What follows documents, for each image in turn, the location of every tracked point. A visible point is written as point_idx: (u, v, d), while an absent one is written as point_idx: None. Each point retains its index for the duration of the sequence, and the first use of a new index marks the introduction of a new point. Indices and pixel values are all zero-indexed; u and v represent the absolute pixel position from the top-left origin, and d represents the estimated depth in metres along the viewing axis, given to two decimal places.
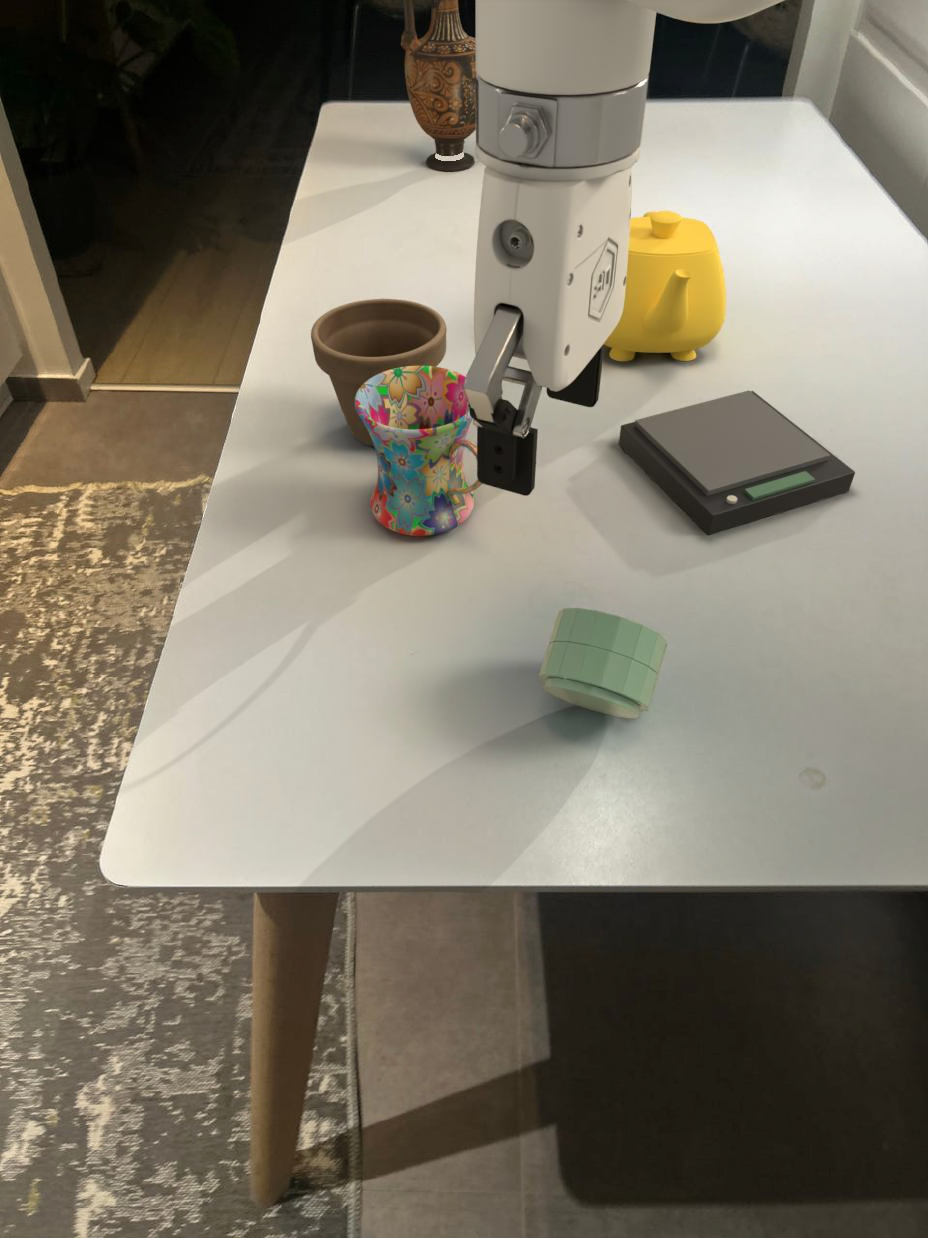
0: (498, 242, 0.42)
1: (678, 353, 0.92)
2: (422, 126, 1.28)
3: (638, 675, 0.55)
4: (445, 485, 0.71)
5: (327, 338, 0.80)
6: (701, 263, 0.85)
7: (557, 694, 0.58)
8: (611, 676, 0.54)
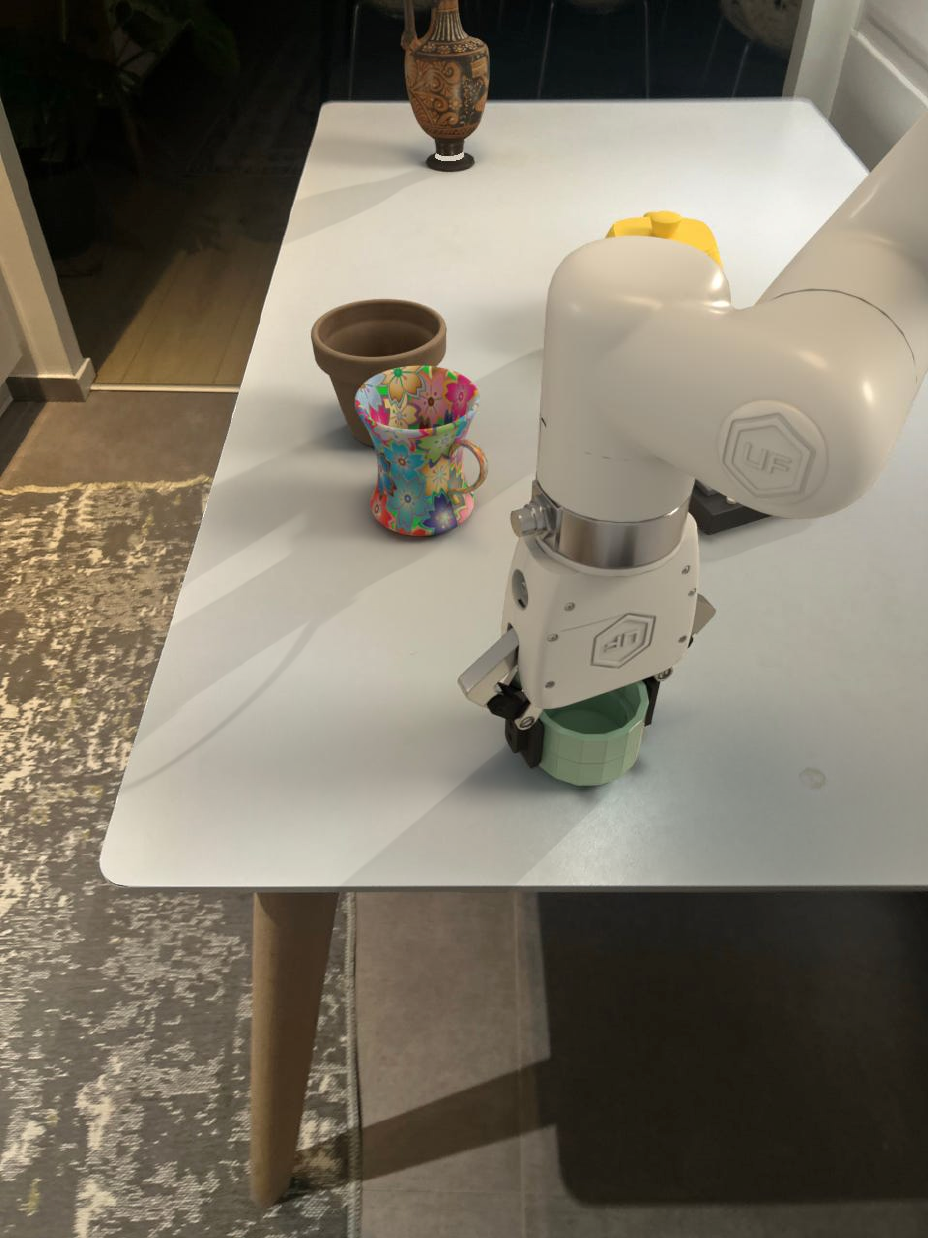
0: (522, 578, 0.48)
1: None
2: (422, 126, 1.28)
3: (614, 767, 0.55)
4: (445, 484, 0.71)
5: (327, 338, 0.80)
6: None
7: None
8: (586, 778, 0.55)
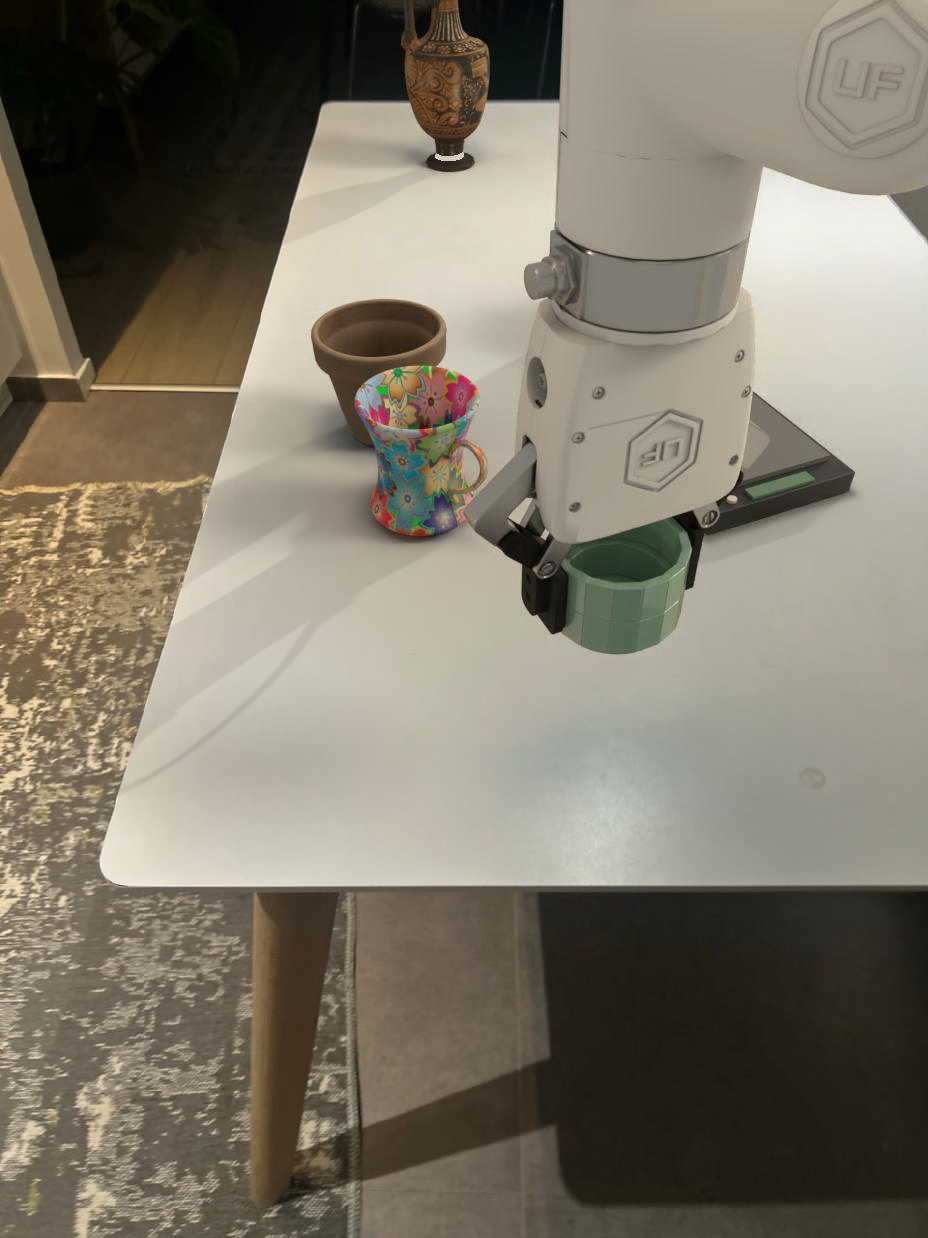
0: (539, 375, 0.39)
1: None
2: (422, 126, 1.28)
3: (652, 627, 0.46)
4: (445, 484, 0.71)
5: (327, 338, 0.80)
6: None
7: None
8: (618, 643, 0.46)
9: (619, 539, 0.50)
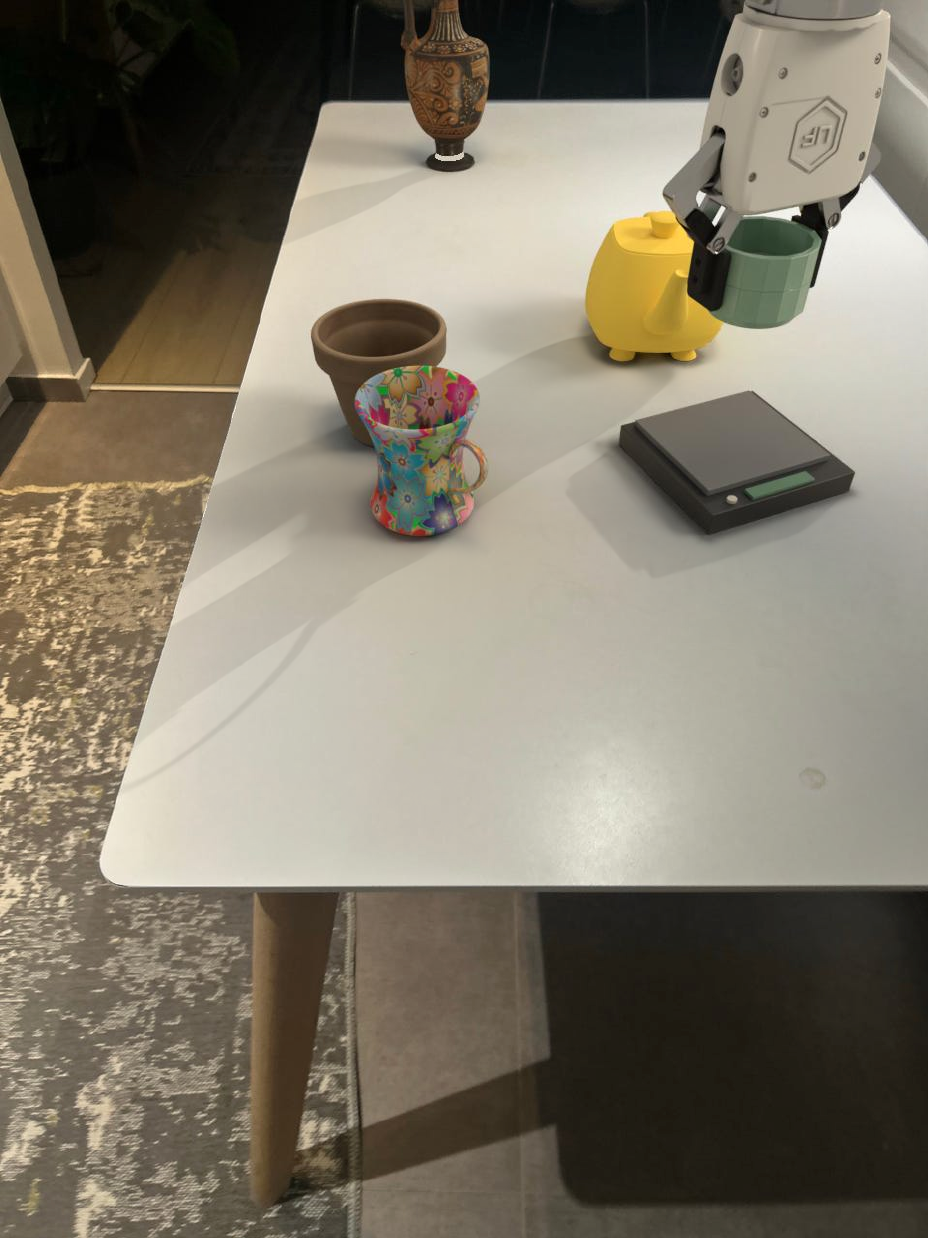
0: (729, 75, 0.54)
1: (678, 353, 0.92)
2: (422, 126, 1.28)
3: (790, 300, 0.61)
4: (445, 484, 0.71)
5: (327, 338, 0.80)
6: None
7: None
8: (764, 313, 0.61)
9: (756, 250, 0.64)
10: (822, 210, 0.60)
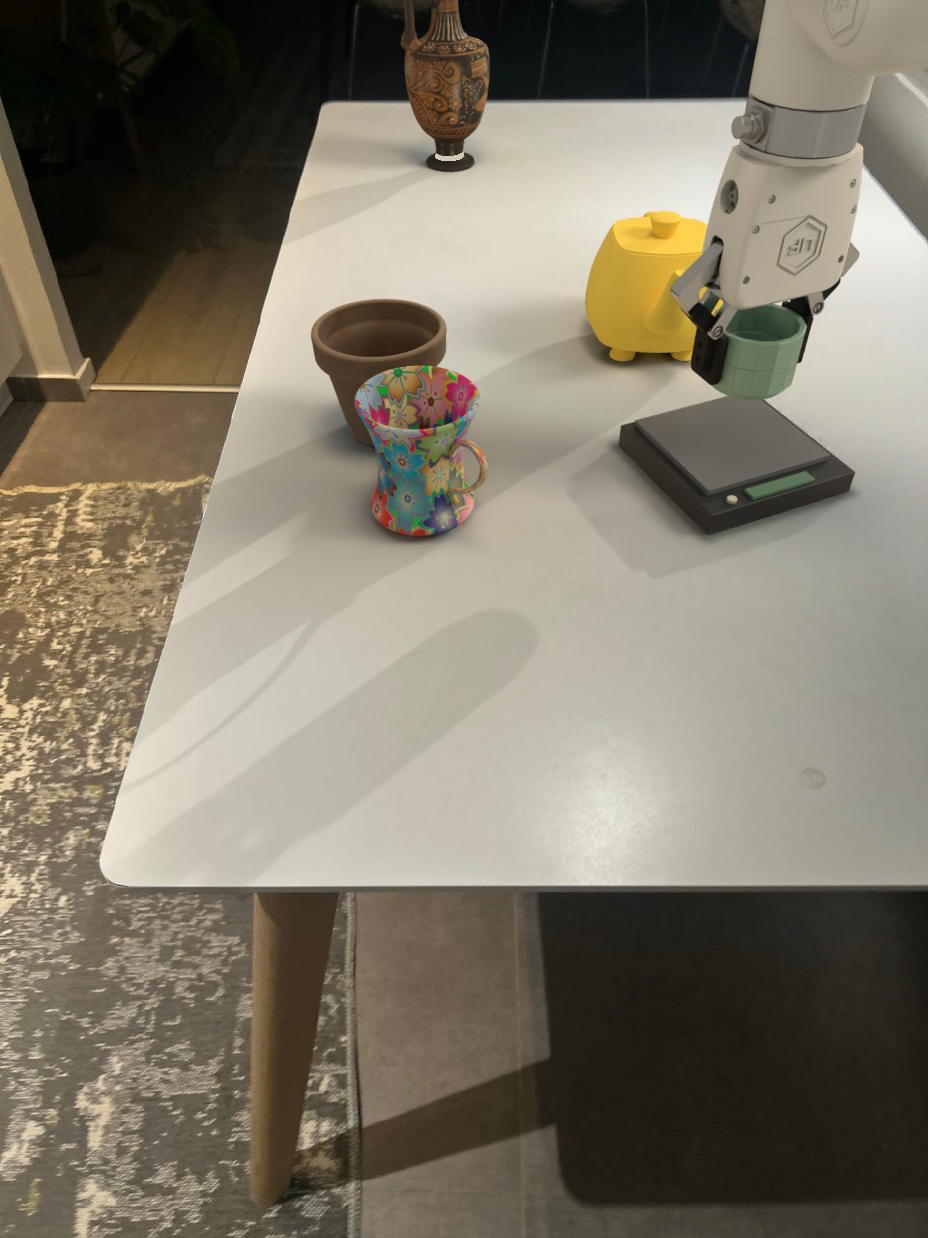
0: (727, 195, 0.64)
1: (678, 353, 0.92)
2: (422, 126, 1.28)
3: (779, 377, 0.70)
4: (445, 484, 0.71)
5: (327, 338, 0.80)
6: None
7: None
8: (757, 387, 0.71)
9: (751, 330, 0.74)
10: (807, 300, 0.70)
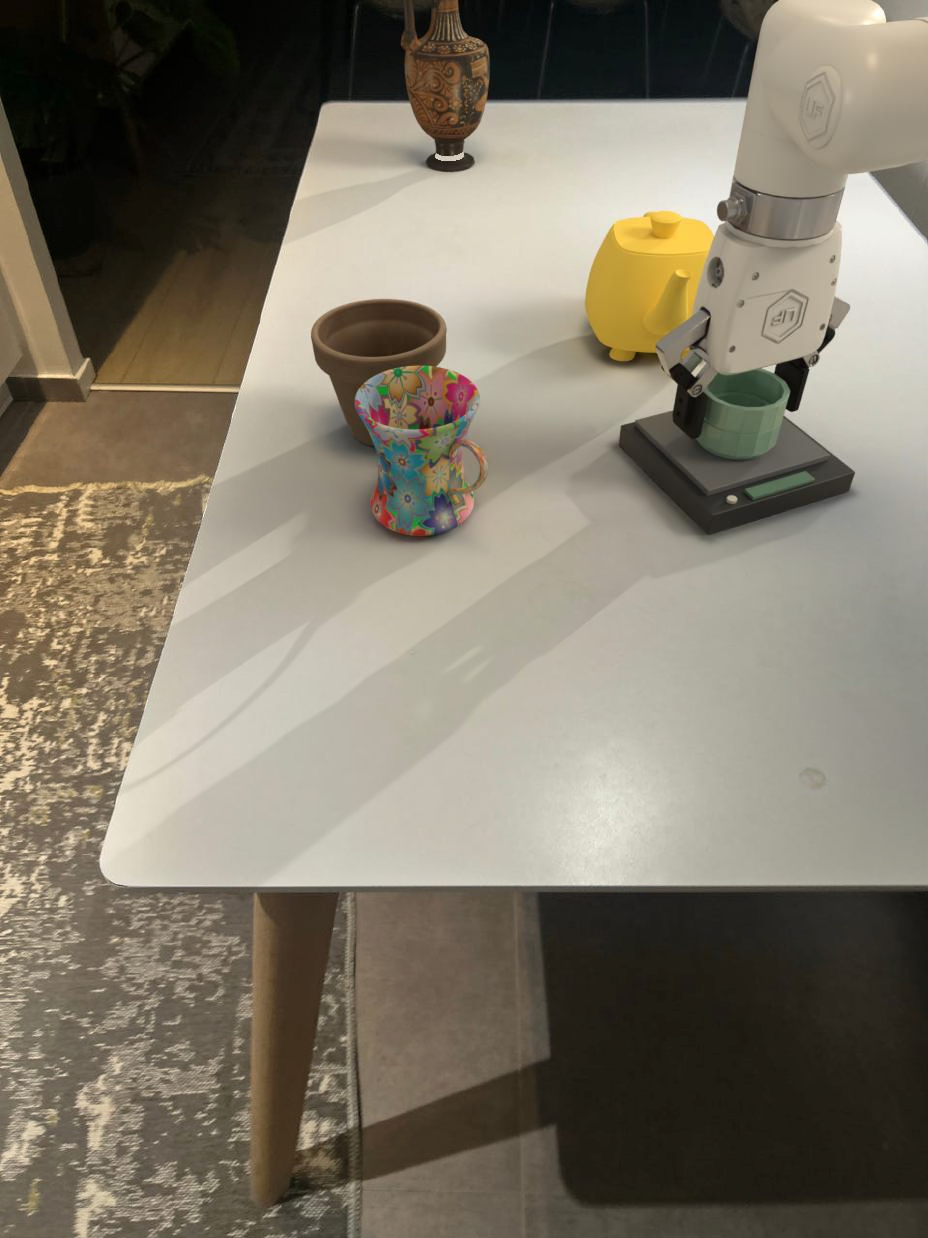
0: (714, 269, 0.67)
1: None
2: (422, 126, 1.28)
3: (764, 439, 0.74)
4: (445, 484, 0.71)
5: (327, 338, 0.80)
6: (701, 263, 0.85)
7: None
8: (742, 449, 0.75)
9: (738, 391, 0.78)
10: (801, 356, 0.74)
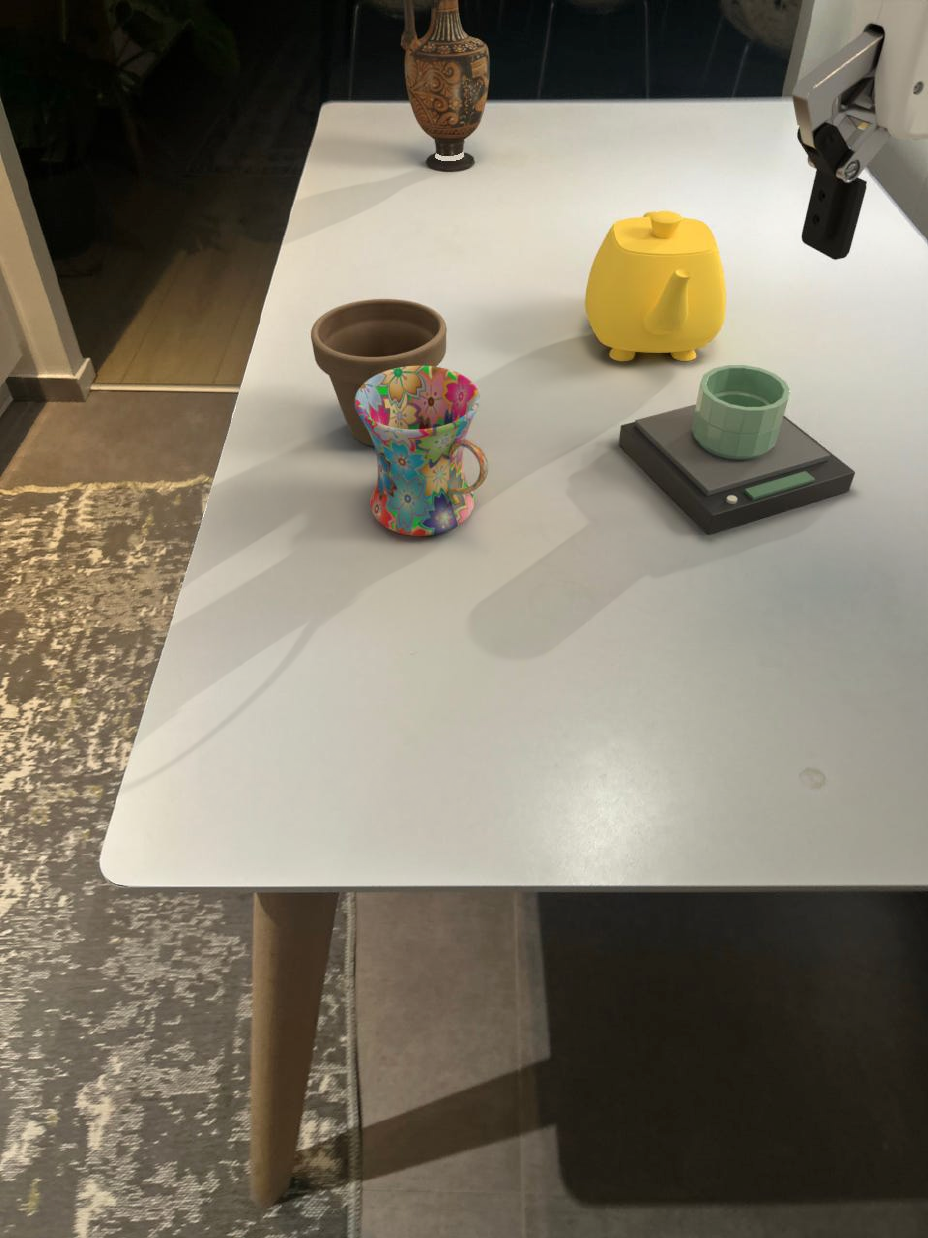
0: None
1: (678, 353, 0.92)
2: (422, 126, 1.28)
3: (764, 439, 0.74)
4: (445, 484, 0.71)
5: (327, 338, 0.80)
6: (701, 263, 0.85)
7: None
8: (742, 449, 0.75)
9: (738, 391, 0.78)
10: None
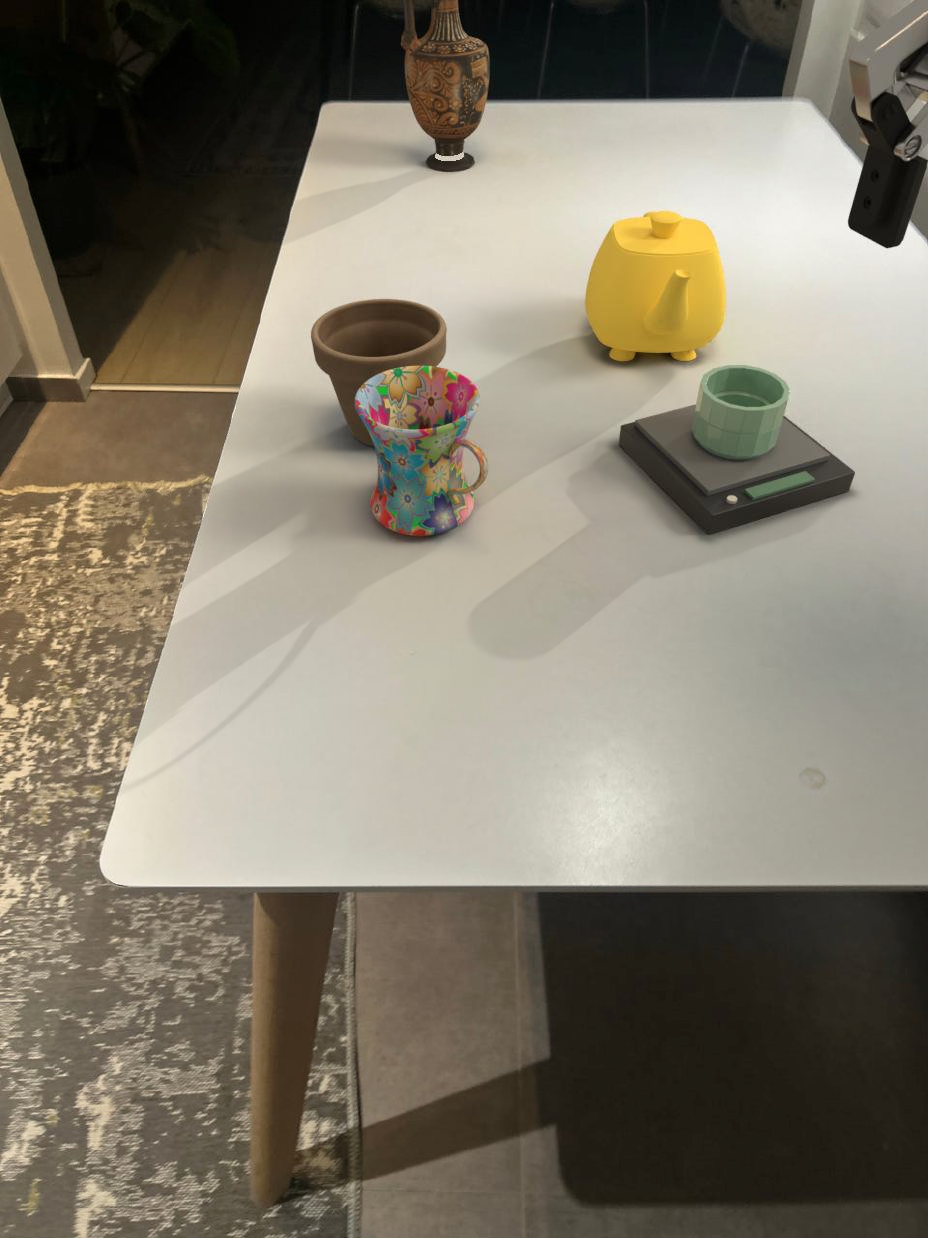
0: None
1: (678, 353, 0.92)
2: (422, 126, 1.28)
3: (764, 439, 0.74)
4: (445, 484, 0.71)
5: (327, 338, 0.80)
6: (701, 263, 0.85)
7: None
8: (742, 449, 0.75)
9: (738, 391, 0.78)
10: None
